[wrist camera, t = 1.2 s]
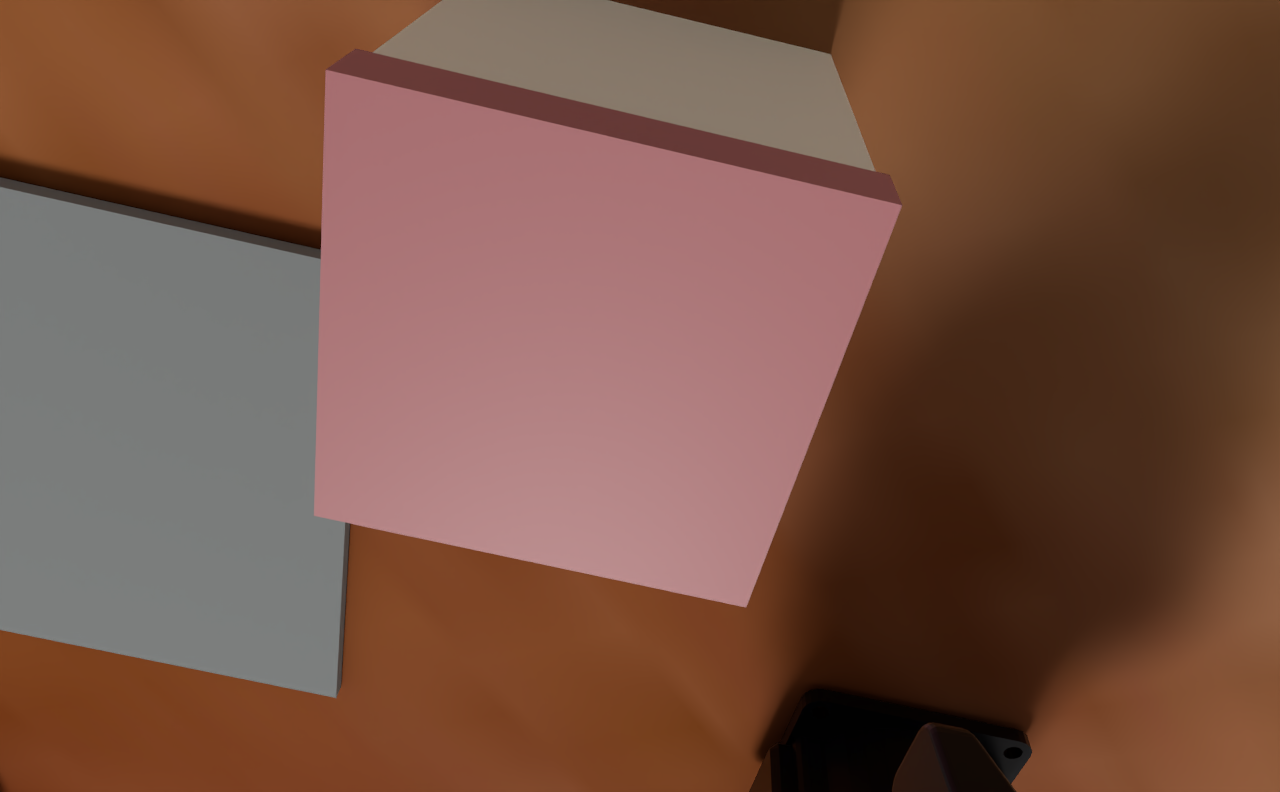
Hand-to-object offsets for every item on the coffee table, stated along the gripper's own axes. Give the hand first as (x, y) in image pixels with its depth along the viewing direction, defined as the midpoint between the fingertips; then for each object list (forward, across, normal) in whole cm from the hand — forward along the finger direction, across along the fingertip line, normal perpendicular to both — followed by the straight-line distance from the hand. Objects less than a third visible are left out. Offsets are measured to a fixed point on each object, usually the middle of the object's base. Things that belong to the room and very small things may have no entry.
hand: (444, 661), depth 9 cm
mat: (+12, +12, +9) cm, 19 cm away
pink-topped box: (+12, 0, 0) cm, 12 cm away
